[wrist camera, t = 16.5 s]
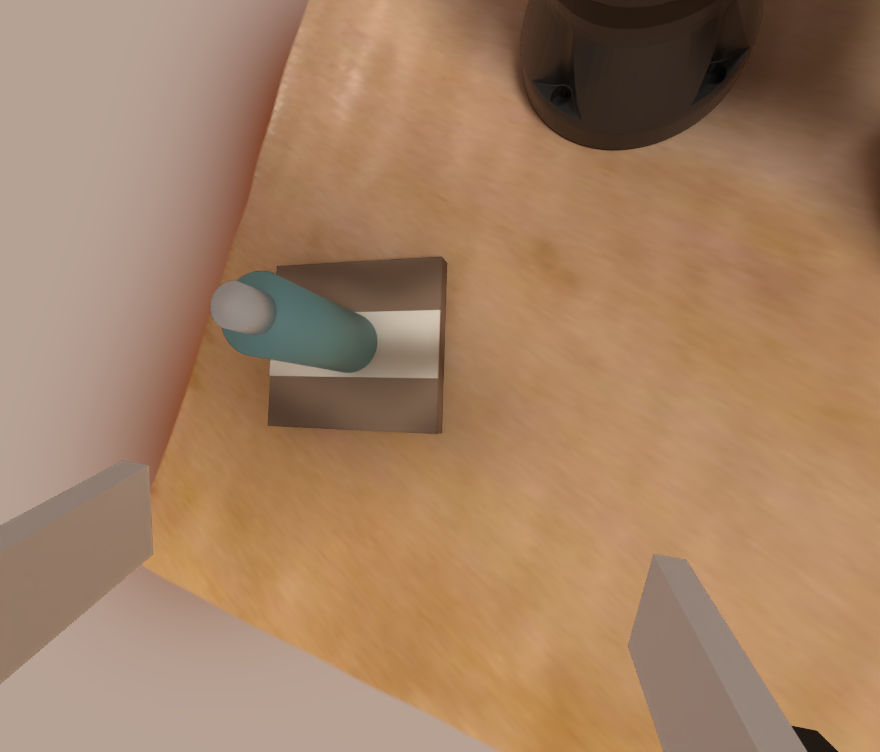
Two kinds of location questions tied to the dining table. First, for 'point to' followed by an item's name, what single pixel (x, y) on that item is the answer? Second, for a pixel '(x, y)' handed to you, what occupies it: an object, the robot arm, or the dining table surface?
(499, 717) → the dining table surface
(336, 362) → the teal bottle with cap
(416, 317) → the brown cream striped panel
